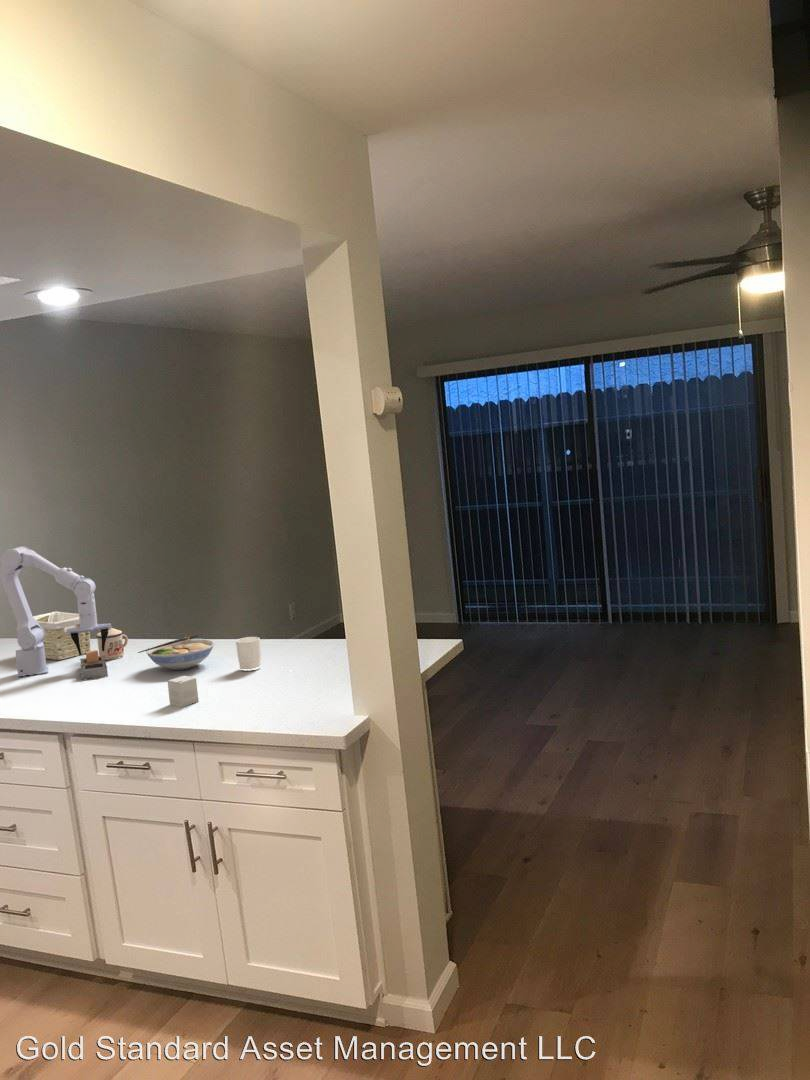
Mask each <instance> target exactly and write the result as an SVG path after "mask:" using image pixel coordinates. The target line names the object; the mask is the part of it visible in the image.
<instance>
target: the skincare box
mask: <svg viewBox="0 0 810 1080" xmlns="http://www.w3.org/2000/svg"><path fill="white" fill-rule="evenodd" d="M197 683H198V682H197V677H192V676H188V675H181V676H178V677H175V678H171V679H168V680H167V691H168V698H169V705H171V706H176V707H179V706H180V708H184V707H188V706H189V705H193V704H195V702H196V703H198V702H200V701H199V692H198V684H197ZM192 703H193V704H192Z"/></svg>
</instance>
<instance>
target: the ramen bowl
mask: <svg viewBox="0 0 810 1080" xmlns="http://www.w3.org/2000/svg"><path fill="white" fill-rule="evenodd" d="M198 637H199V634H191V635H187V636H184V637H181V638H177V639H175V640H171V641H165V642H161V643H158V644H155V645H152V646H149V647H148V648H147V649H143V650H141V651H138V652H137V654H140V653H144V652H146V654H147V656H148V658H149V659H150V660H151V661H152V662H153V663H154V664H155V665H158V666H159V667H163V668H165V669H170V670H173V671H183V669H185V670H189V669H192V668H193V667H194V666H196V665H198V664H200V663H202V662H203V661H205V659H206V658H208V657H209V655H210V654H211V652H212V650H213V649H214V646H215V642H214V640H211V639H206V638H198ZM191 667H192V668H191ZM188 668H189V669H188Z"/></svg>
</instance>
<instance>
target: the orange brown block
mask: <svg viewBox="0 0 810 1080" xmlns="http://www.w3.org/2000/svg"><path fill="white" fill-rule="evenodd" d="M98 656H99V649H95V650H90V651H87V652H86V653H85V658H86V660H87V663H88V662H95V661H99V657H98Z"/></svg>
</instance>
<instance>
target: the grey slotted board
mask: <svg viewBox="0 0 810 1080" xmlns="http://www.w3.org/2000/svg"><path fill="white" fill-rule="evenodd" d="M98 657H99V661H95V662H88V663H87V660H86V657H83V658H80V668H81V676H82V681H85V680H84V679H86V680H90V679H91V680H92V678H93V679H98V677H99V678H104V677H103V676H106V677H109V674H108V666H107V660H105V656H99V655H98Z"/></svg>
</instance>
